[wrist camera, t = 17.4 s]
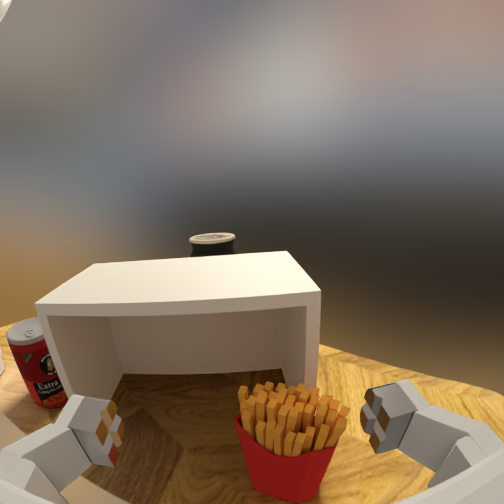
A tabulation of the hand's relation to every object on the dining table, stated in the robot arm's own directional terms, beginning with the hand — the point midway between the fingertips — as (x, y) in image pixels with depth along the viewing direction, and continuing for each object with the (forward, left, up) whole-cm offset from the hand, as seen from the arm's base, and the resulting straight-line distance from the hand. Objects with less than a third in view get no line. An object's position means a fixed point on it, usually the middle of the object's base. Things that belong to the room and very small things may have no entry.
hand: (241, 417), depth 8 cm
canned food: (-28, +22, -19) cm, 41 cm away
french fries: (+3, +9, -19) cm, 21 cm away
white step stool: (-6, +22, -19) cm, 30 cm away
